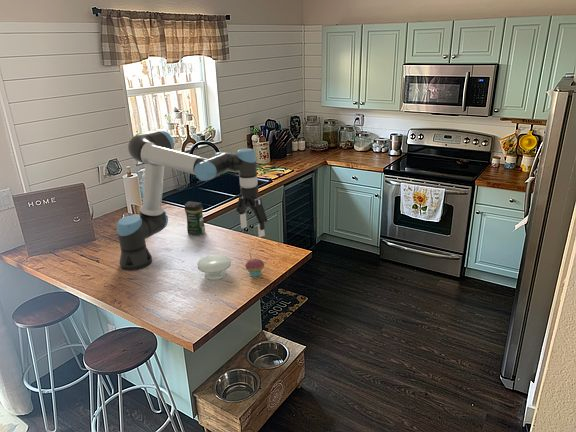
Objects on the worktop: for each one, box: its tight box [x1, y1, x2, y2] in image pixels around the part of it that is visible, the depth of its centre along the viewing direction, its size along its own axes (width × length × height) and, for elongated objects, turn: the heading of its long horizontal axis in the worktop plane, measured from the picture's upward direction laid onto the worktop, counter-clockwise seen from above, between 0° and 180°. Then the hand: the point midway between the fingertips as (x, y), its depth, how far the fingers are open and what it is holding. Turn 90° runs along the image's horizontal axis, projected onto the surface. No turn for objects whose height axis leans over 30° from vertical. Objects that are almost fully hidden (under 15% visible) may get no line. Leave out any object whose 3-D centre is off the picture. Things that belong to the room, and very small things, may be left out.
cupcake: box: [245, 250, 265, 277], centre depth 198 cm, size 9×8×12 cm
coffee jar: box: [184, 201, 206, 236], centre depth 244 cm, size 10×8×19 cm
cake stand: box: [197, 254, 232, 281], centre depth 200 cm, size 15×15×6 cm
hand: (252, 231), depth 193 cm, fingers open, 13 cm apart
